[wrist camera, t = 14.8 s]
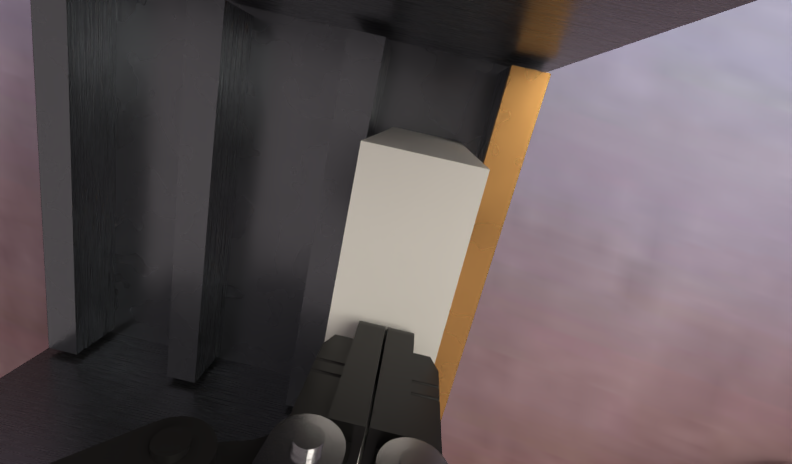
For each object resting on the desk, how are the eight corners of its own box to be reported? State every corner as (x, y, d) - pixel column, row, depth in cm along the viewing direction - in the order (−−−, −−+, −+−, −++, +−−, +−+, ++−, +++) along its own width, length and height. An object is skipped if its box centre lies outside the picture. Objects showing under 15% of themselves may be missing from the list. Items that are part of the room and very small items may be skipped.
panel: (393, 126, 18) (360, 140, 9) (459, 141, 18) (490, 169, 9) (347, 353, 21) (292, 518, 13) (401, 366, 21) (384, 540, 13)
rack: (105, -59, 18) (-1056, -676, 4) (542, 41, 17) (973, -226, 4) (106, 334, 24) (-340, 641, 10) (429, 411, 24) (431, 834, 10)
